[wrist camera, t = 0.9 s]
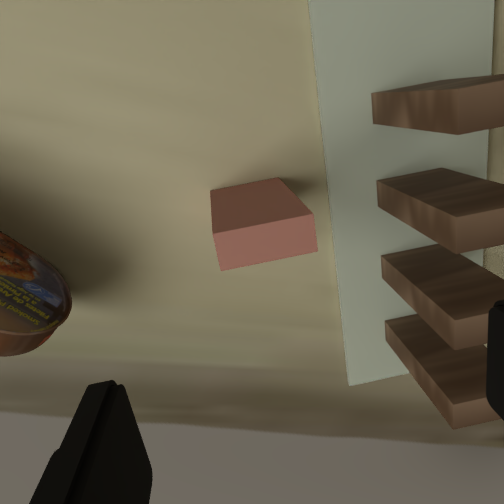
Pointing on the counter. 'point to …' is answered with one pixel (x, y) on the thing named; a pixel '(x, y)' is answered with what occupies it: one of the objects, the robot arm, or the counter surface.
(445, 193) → the domino
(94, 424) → the robot arm
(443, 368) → the domino
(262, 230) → the domino
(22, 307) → the tin
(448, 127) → the domino
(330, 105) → the mat
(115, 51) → the counter surface
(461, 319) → the domino
